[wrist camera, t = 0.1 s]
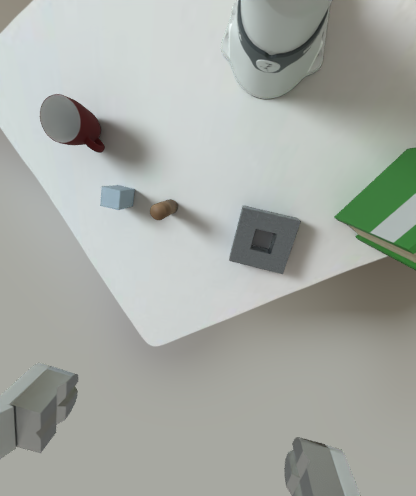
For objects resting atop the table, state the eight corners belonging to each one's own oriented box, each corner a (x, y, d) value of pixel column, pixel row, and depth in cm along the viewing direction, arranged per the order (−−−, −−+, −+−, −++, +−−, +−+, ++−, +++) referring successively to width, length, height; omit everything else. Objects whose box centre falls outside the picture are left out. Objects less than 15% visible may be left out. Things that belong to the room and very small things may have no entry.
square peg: (118, 185, 56) (101, 186, 49) (134, 189, 55) (120, 190, 49) (116, 202, 57) (100, 205, 50) (132, 206, 57) (118, 210, 50)
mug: (125, 134, 52) (100, 125, 43) (106, 164, 55) (78, 162, 45) (87, 100, 51) (52, 83, 42) (69, 132, 54) (32, 122, 44)
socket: (242, 205, 53) (242, 207, 49) (296, 217, 53) (300, 221, 49) (229, 255, 57) (229, 260, 53) (279, 267, 56) (282, 274, 52)
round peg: (165, 198, 55) (151, 202, 47) (178, 201, 55) (167, 205, 46) (163, 211, 56) (149, 218, 48) (176, 214, 56) (164, 221, 47)
